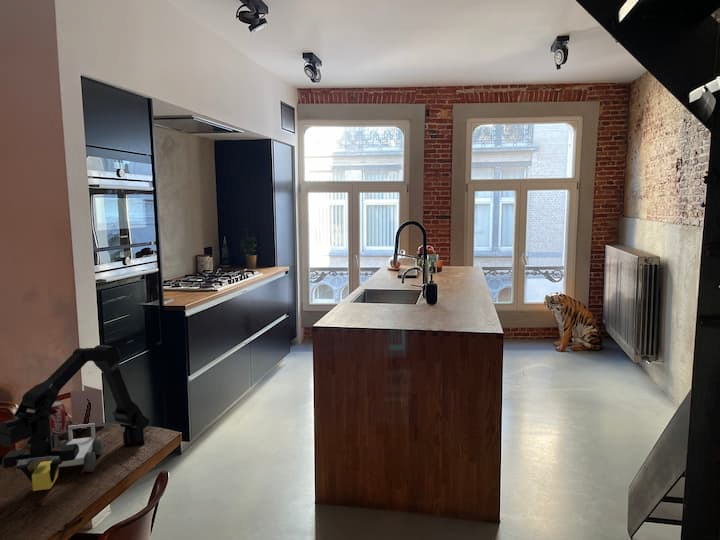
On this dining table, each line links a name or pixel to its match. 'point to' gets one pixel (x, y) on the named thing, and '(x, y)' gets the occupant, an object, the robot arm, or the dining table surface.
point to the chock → (42, 477)
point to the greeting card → (81, 403)
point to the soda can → (58, 418)
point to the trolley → (83, 448)
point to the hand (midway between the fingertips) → (43, 482)
